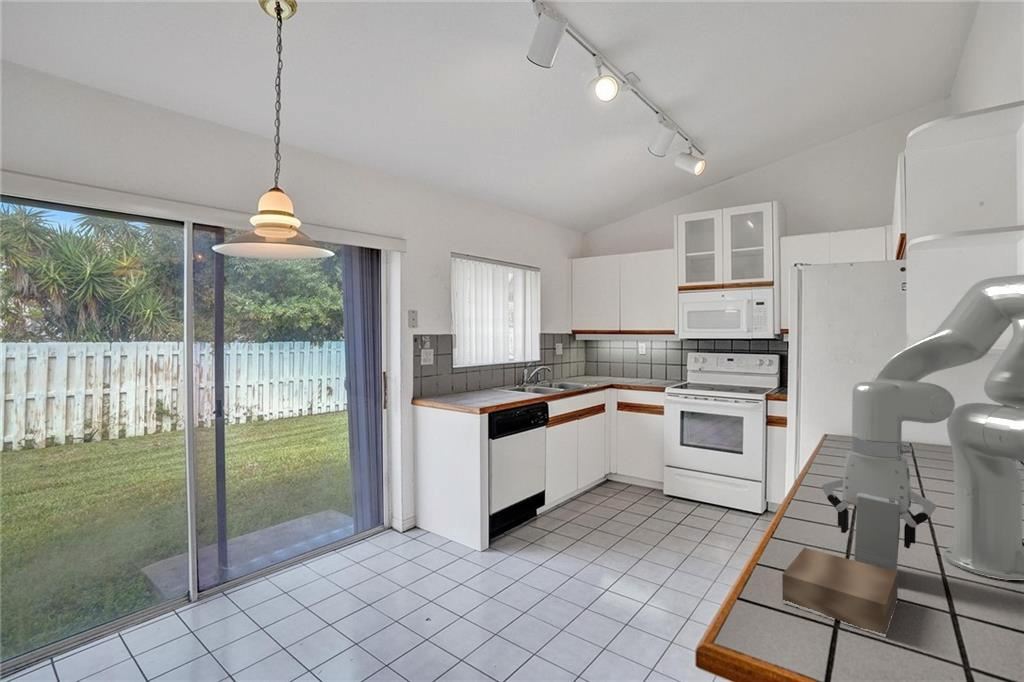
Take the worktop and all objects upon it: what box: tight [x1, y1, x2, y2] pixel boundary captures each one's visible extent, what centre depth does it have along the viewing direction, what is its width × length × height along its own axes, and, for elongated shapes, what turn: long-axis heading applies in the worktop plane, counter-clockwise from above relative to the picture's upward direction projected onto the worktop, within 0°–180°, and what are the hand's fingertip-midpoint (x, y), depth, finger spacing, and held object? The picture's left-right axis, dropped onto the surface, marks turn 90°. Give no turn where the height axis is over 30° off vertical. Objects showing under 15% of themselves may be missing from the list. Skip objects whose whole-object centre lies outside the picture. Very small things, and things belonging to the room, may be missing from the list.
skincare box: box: [853, 493, 901, 572], centre depth 93 cm, size 8×7×16 cm
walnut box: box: [781, 547, 899, 634], centre depth 83 cm, size 14×14×5 cm
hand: (875, 538), depth 93 cm, fingers open, 9 cm apart
